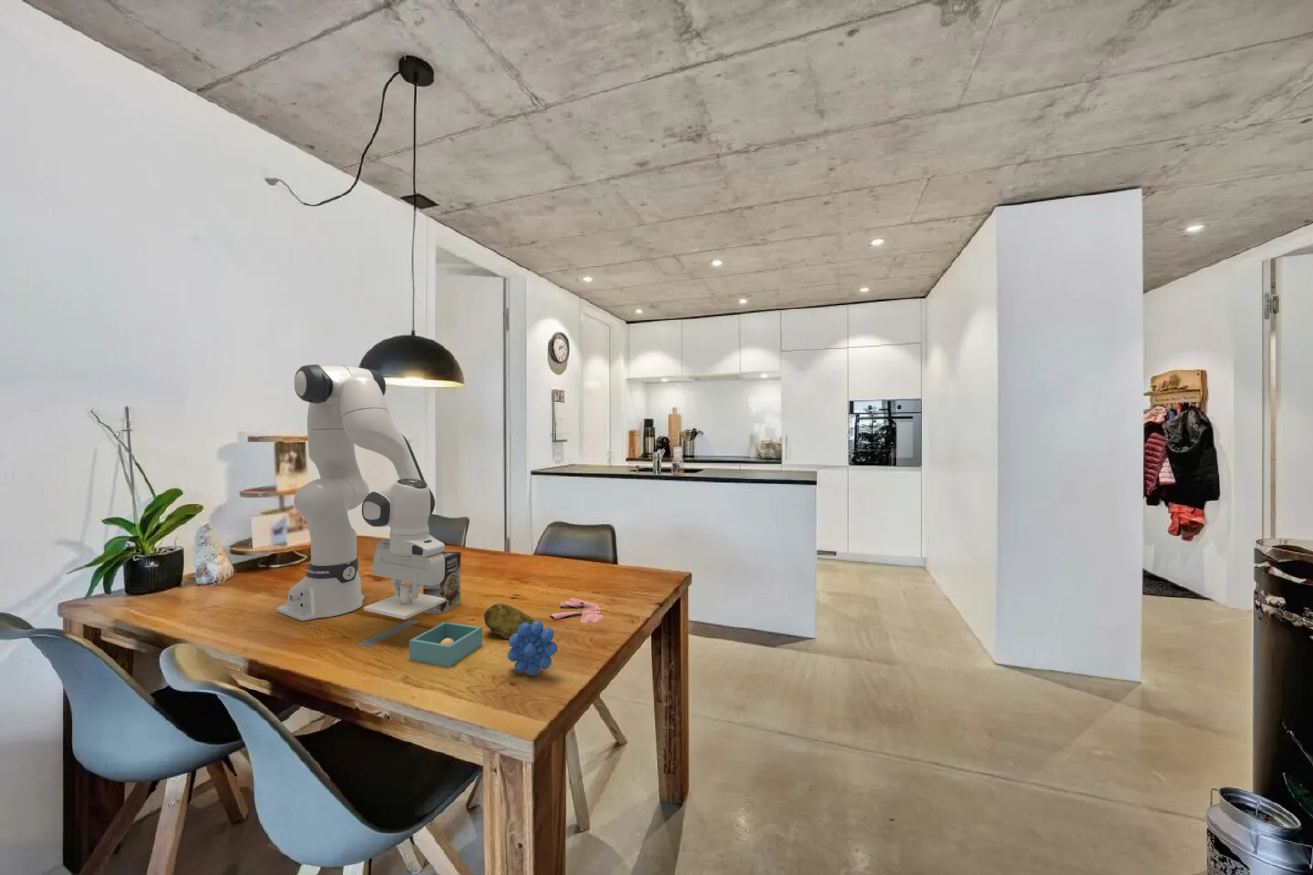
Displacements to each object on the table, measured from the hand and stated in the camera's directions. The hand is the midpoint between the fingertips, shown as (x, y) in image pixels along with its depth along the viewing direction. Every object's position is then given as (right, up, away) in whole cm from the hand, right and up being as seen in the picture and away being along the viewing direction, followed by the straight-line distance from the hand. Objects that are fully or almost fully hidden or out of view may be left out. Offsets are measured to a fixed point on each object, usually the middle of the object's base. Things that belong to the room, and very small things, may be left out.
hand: (406, 597), depth 118 cm
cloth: (+39, -11, +18) cm, 45 cm away
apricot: (+15, -10, -10) cm, 20 cm away
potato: (+26, -11, 0) cm, 28 cm away
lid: (0, -2, 0) cm, 2 cm away
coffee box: (0, -10, +19) cm, 22 cm away
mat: (+1, -10, 0) cm, 10 cm away
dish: (+15, -10, -10) cm, 20 cm away
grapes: (+37, -11, -18) cm, 43 cm away
